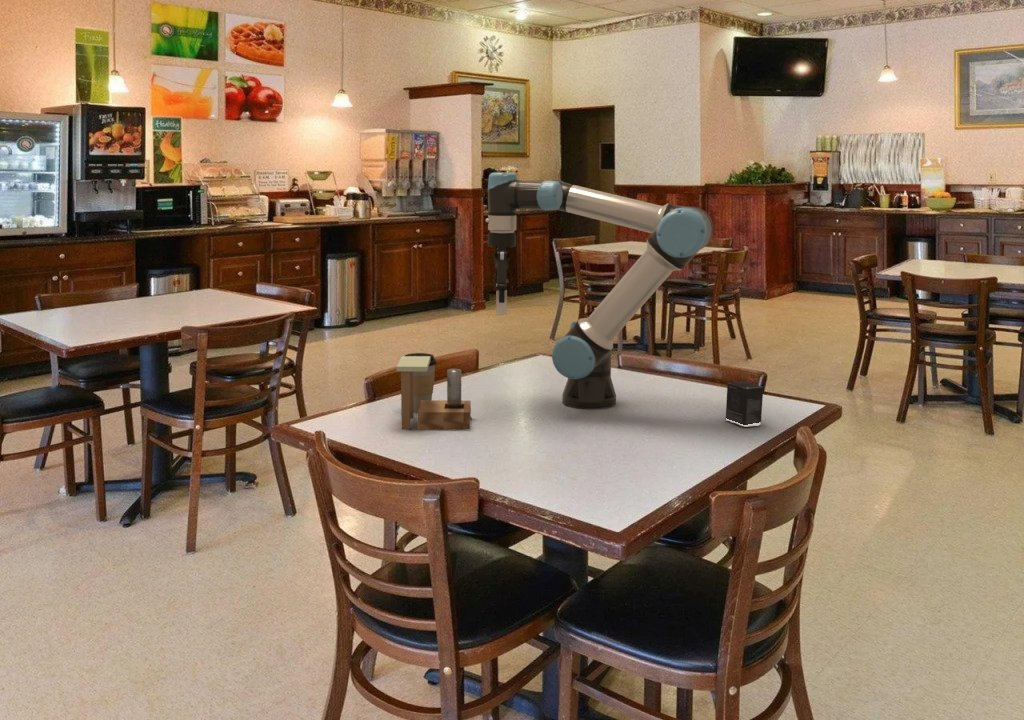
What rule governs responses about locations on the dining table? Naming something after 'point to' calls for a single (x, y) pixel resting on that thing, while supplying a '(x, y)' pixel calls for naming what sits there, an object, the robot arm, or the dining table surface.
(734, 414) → the box
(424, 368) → the capped wooden post
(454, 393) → the peg
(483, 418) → the dining table surface
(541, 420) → the dining table surface
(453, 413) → the socket
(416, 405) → the coffee cup
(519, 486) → the dining table surface
